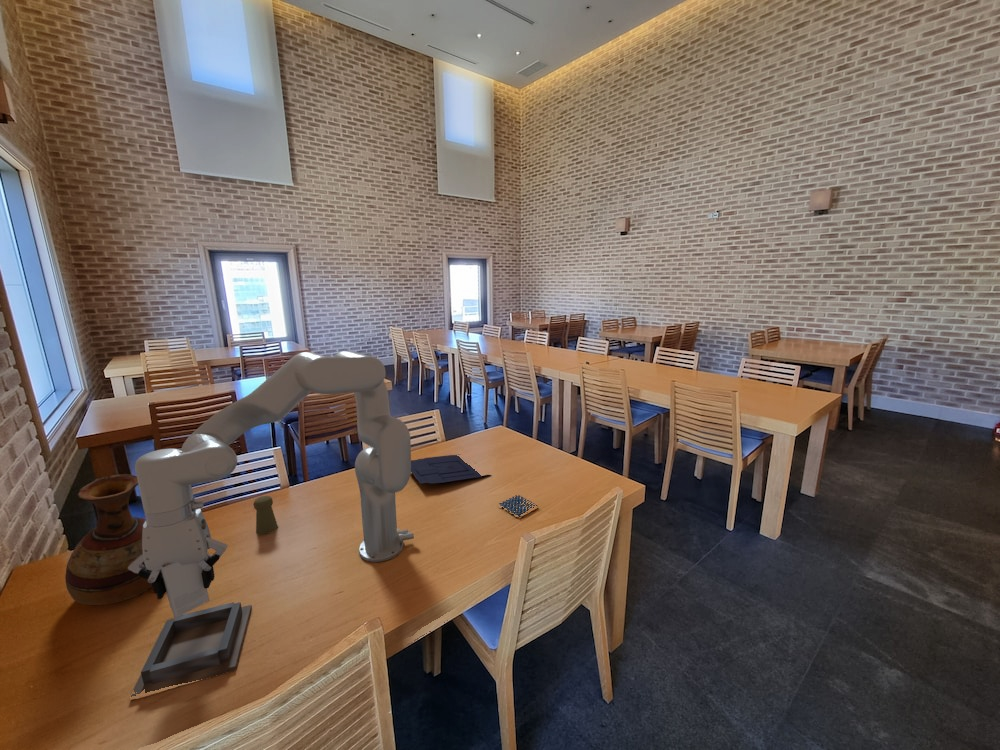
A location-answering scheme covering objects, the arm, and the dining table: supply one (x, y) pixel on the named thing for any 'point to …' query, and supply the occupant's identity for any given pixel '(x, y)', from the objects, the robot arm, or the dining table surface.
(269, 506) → the cork
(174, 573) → the skincare box
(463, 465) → the navy folded cloth
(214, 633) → the socket stand
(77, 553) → the painted clay vase
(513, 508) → the woven mat
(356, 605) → the dining table surface
